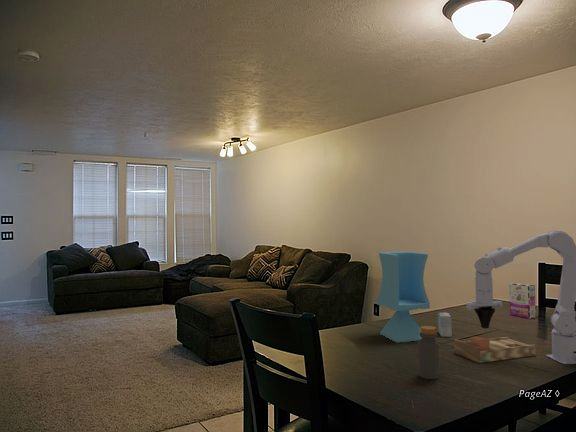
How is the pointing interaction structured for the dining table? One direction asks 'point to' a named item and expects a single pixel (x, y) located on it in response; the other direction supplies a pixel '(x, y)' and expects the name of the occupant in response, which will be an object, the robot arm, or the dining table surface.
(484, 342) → the brick block
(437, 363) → the bottle
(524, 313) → the candy bar box
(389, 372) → the dining table surface
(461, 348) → the trap tray
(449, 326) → the medicine box
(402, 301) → the blue pedestal chair
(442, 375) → the dining table surface
